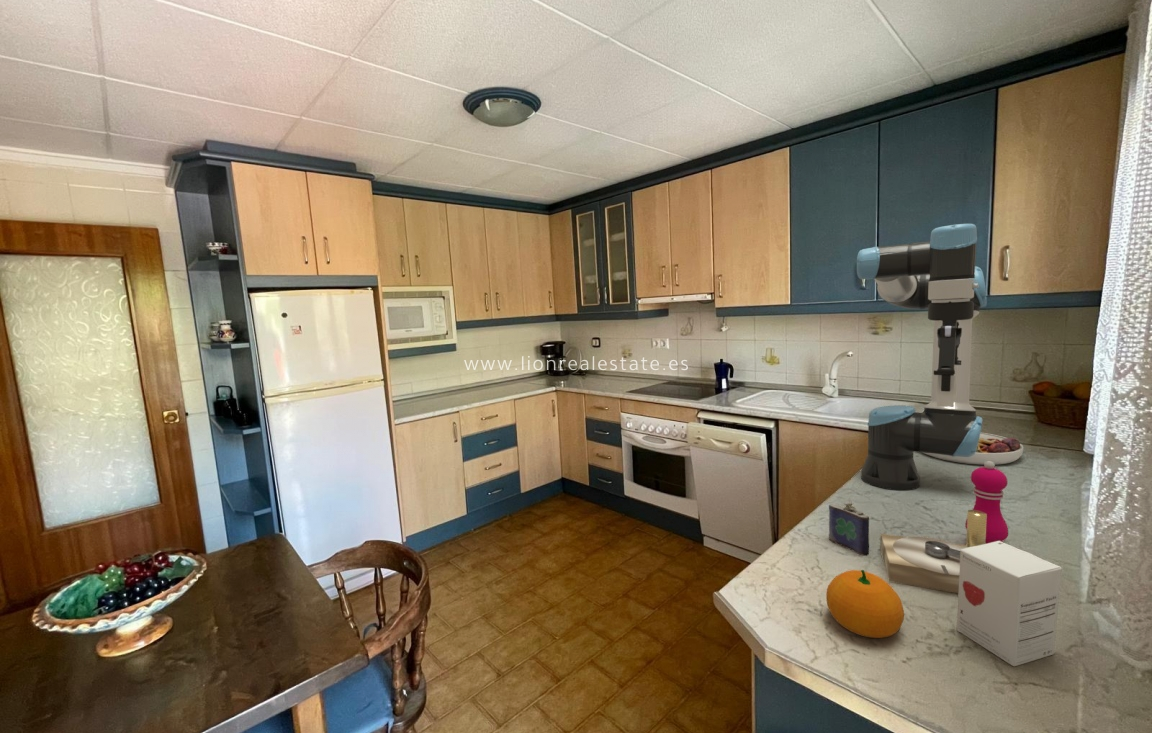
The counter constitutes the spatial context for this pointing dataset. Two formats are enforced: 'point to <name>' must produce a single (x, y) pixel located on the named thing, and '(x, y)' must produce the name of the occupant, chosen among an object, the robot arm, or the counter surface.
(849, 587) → the fruit
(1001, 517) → the pepper mill
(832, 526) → the flask
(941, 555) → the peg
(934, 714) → the counter surface
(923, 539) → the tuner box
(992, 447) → the bowl
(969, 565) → the supplement box
